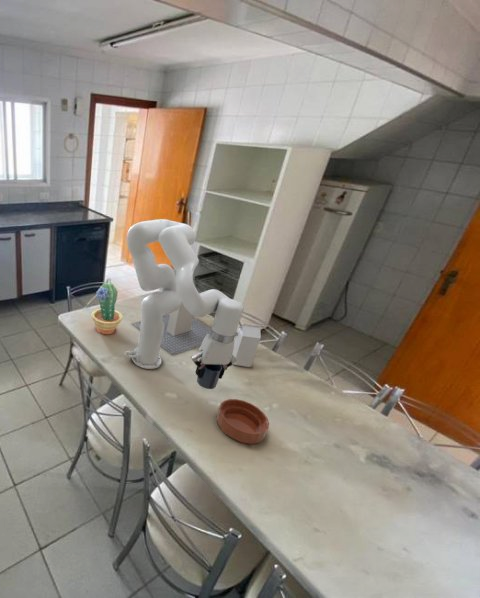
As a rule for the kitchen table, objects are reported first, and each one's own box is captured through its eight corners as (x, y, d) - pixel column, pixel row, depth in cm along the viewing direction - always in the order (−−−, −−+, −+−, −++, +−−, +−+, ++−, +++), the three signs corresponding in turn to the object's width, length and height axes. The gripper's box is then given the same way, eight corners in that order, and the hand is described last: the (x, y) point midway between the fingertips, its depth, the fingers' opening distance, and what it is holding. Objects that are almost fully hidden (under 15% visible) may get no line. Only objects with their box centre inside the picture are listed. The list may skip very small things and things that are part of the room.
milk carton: (250, 367, 141) (263, 330, 133) (233, 365, 142) (245, 327, 134) (246, 358, 147) (258, 321, 139) (229, 355, 148) (241, 319, 140)
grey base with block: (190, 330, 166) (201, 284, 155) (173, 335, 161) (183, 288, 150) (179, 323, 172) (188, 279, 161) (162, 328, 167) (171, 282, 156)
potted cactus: (86, 323, 168) (89, 278, 157) (114, 320, 172) (118, 276, 161) (96, 339, 155) (100, 291, 144) (126, 335, 159) (132, 289, 148)
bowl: (228, 445, 104) (232, 433, 102) (209, 409, 118) (212, 398, 116) (273, 444, 105) (278, 433, 103) (249, 409, 119) (253, 399, 116)
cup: (200, 389, 115) (206, 371, 112) (194, 375, 121) (199, 358, 118) (219, 389, 116) (225, 371, 112) (211, 376, 122) (217, 359, 118)
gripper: (241, 329, 113) (227, 369, 121) (192, 327, 112) (181, 368, 120) (252, 342, 106) (236, 383, 114) (200, 340, 105) (188, 382, 113)
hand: (208, 375), depth 117 cm, fingers closed on cup, 6 cm apart
